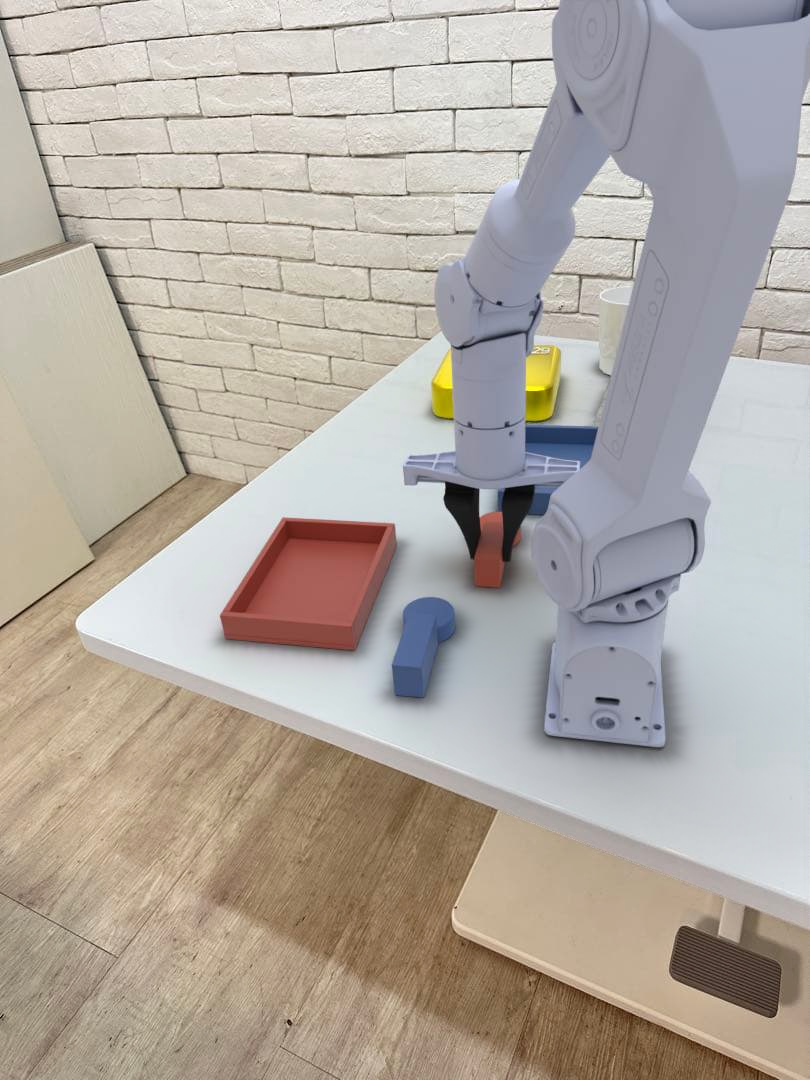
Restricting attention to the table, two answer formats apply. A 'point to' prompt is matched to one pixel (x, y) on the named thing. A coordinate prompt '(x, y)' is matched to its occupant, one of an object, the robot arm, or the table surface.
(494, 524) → the red spoon
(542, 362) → the element tile
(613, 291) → the white cup
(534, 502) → the blue tray
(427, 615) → the blue spoon
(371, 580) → the red tray
